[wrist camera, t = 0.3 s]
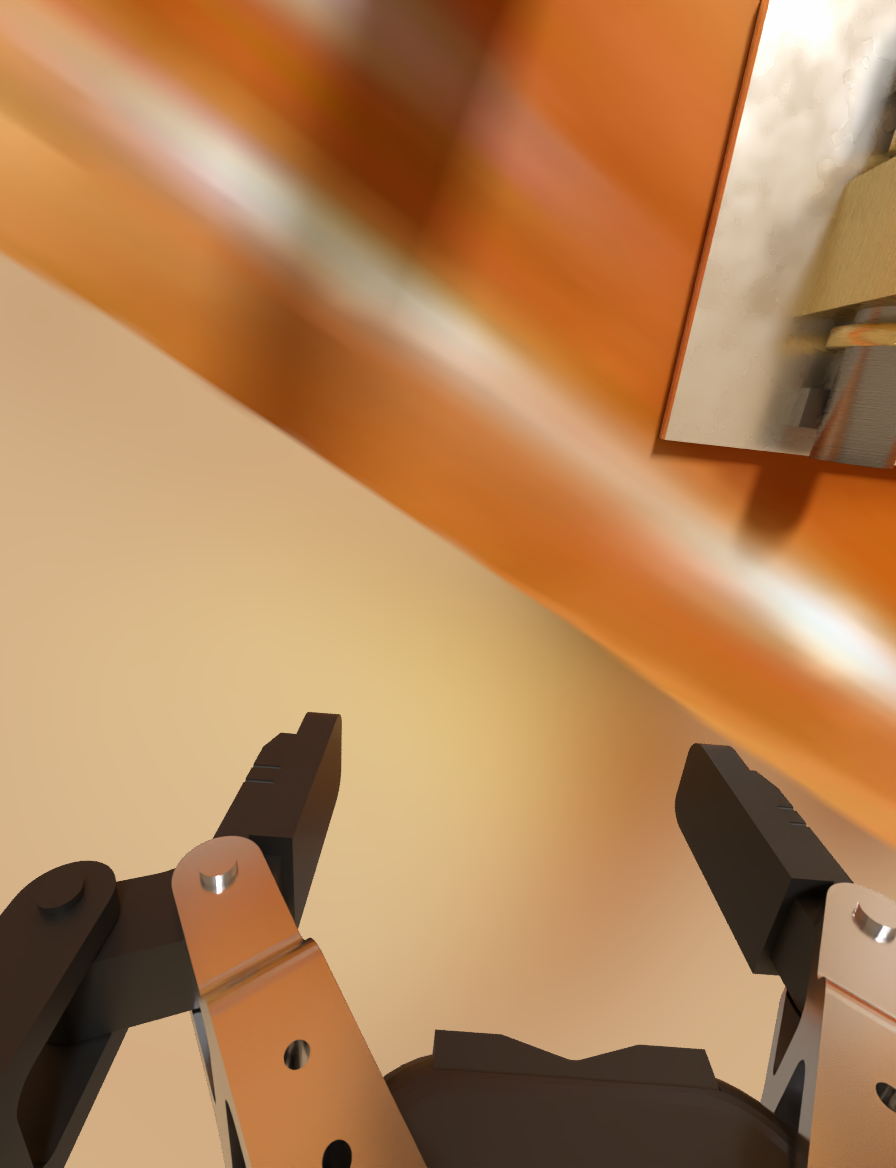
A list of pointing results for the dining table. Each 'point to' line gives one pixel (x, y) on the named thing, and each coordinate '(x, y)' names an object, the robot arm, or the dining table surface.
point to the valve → (801, 248)
